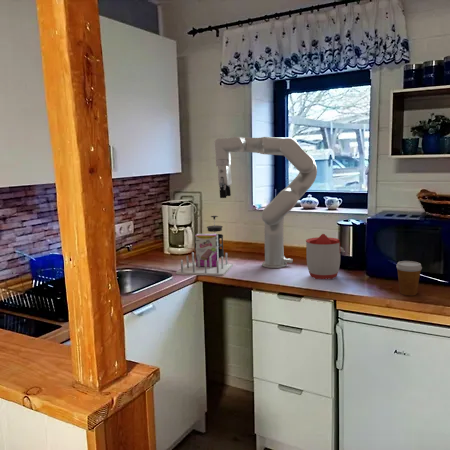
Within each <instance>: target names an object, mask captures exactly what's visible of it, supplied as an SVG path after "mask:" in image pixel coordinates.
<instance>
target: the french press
mask: <svg viewBox="0 0 450 450" xmlns="http://www.w3.org/2000/svg"><path fill="white" fill-rule="evenodd" d="M218 217H219V216H218V215H211V216H210V218H213V222H214V223H213V225H209V226H206V229H207V232H208V233H209V232H211V233H216V232H217V234H218V254H219V259H221V257H223V258H224V257H225V254H224V252H225V251H224V235H223V234H222V233H221V234H220V233H218V232H222V231H223V226H222V225H216V221H215V220H216V218H218ZM220 241H221V243H220Z"/></svg>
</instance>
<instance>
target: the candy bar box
mask: <svg viewBox="0 0 450 450" xmlns="http://www.w3.org/2000/svg"><path fill="white" fill-rule="evenodd" d="M218 234H219V233H196V234H195V235H194V243H195V244H194V245H195V263H196V267H198V256H200V267H205V266H204V260H206V264H207V267H210V262H209V256H211V261H212V267H217V265H216V261H218V262H219V263H220V260H219V259H220V258H219V254H218Z"/></svg>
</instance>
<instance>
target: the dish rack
mask: <svg viewBox="0 0 450 450" xmlns="http://www.w3.org/2000/svg"><path fill="white" fill-rule="evenodd" d="M224 257H225V259H224ZM189 260H190V259H189V255H186V264H185V265H184V263H183V262H184V260H183V259H180V268H179V269H178V270H176V271H175V275H191V276H213V277H214V276H216V277H217V276H218V277H224V276H225V275H226V274H227V273H228V272H229V271H230V269H232V268H233V266H234V264H232V263H229V262H228V252H225V254H224V256H223V257H220V261H219V262H218V261H216V265H217V267H212V261H211V256H209V262H210V267H207V264H206V260H204V266H205V267H200V256H198V267H196V260H195V252H193V251H192V252H191V262H189ZM224 261H225V263H224Z"/></svg>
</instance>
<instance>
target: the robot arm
mask: <svg viewBox="0 0 450 450" xmlns="http://www.w3.org/2000/svg"><path fill="white" fill-rule="evenodd" d="M214 149H215V150H214V151H215V153H214V154H215V166H216V167H217V179H218V180H217V182H218V186H219V198H220V199H227V197H231V195H232V192H231V185H232V183H233V181H232V170H231V166H232V157H231V155H232V154H231V153H252V154H253V153H254V154H260V155H269V156H270V155H273V156H283V157H285V159H287V160H288V162H289V163H290V164H291V165H292V166H293V167H294V168H295V169H296V170H297V171H298V174H297V175H296V176H295V178H294V179H293V180H292V181H291V182H290V183H289V184H288V185H287V186H286V187H285V188H284V189H282V190H280V192H278V193H277V195H275V197H274V198H273V199H272V200H271V201H270V202H269V203H268V204H267V205H266V206H265V208H263V210H262V212H261V219H262V222H263V224H264V227H263V228H264V229H263V230H264V232H263V233H264V261H263V262H262V263H261V266H262V267H264V268H267V269H281V268H286V267H287V265H288V264H291V263H293V258H287V257H286V255H284V254H285V253H284V252H285V251H284V250H285V249H284V245H285V243H284V223H285V222H284V217H285V216H286V215H288V213H289V212H290V211H291V210H293V209H294V207H295V206H296V205H297V203H298V202H299V200H301V198H302V197H303V196H304V195H305V193H307V192H308V190H309V189H310V188H311V187H312V185H314V182H315V181H316V178H317V175H318V168H317V163H316V161H315V158H313V156H312V155H310V154H308V153H307V151H305V149H303V148H302V146H300V143H298V141H297V140H296V139H295V138H293V137H280V136H279V137H275V136H274V137H273V136H262V137H243V136H232V137H222V138H221V137H219V138H216V139H215V140H214Z"/></svg>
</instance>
